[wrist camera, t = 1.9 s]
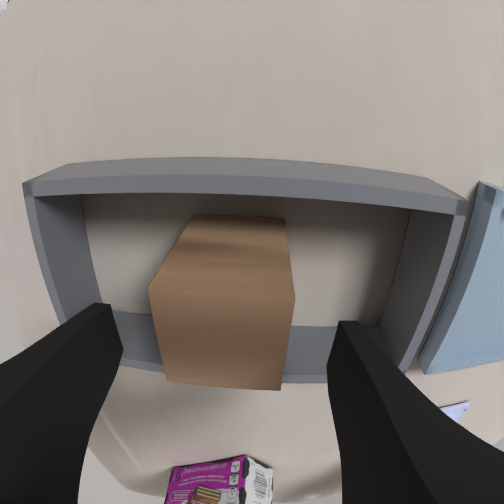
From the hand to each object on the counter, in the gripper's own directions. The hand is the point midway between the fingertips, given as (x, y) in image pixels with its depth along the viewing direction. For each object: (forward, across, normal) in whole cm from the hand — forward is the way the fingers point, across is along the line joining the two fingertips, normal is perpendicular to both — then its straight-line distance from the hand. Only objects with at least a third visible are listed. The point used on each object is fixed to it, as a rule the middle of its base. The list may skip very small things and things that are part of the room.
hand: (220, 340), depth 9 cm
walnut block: (+6, 0, 0) cm, 6 cm away
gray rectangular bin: (+6, 0, 0) cm, 6 cm away
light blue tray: (+6, -18, +1) cm, 19 cm away
